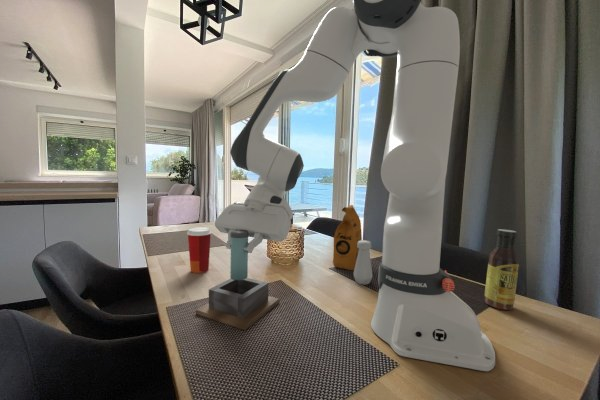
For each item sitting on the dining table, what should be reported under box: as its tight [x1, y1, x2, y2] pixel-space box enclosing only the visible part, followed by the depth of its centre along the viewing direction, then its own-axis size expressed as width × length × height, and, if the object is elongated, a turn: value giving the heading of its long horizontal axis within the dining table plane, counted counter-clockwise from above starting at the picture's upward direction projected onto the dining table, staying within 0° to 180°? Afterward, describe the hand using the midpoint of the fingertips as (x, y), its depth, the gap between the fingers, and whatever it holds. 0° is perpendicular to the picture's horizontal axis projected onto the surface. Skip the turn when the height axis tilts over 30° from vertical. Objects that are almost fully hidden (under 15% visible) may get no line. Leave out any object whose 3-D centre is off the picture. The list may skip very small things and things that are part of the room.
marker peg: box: [229, 230, 249, 280], centre depth 63 cm, size 4×4×11 cm
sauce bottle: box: [484, 228, 520, 311], centre depth 68 cm, size 7×6×20 cm
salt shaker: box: [353, 239, 373, 286], centre depth 82 cm, size 6×6×13 cm
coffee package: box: [332, 204, 363, 271], centre depth 98 cm, size 10×12×22 cm
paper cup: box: [186, 227, 212, 274], centre depth 88 cm, size 8×8×14 cm
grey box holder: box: [195, 277, 280, 331], centre depth 64 cm, size 14×14×6 cm
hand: (237, 249), depth 63 cm, fingers closed on marker peg, 4 cm apart
